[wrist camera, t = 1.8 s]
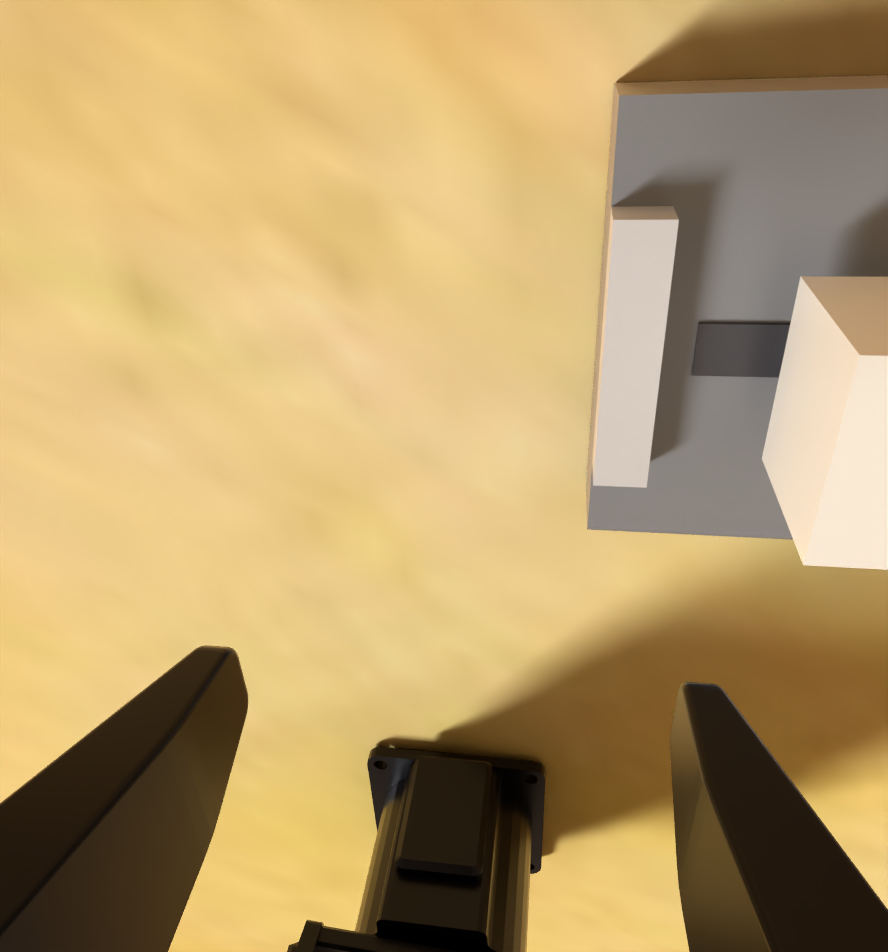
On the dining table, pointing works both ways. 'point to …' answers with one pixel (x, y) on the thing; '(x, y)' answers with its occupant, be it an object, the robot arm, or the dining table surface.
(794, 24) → the dining table surface
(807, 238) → the fader console
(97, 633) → the dining table surface
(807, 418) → the fader tab
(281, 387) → the dining table surface
